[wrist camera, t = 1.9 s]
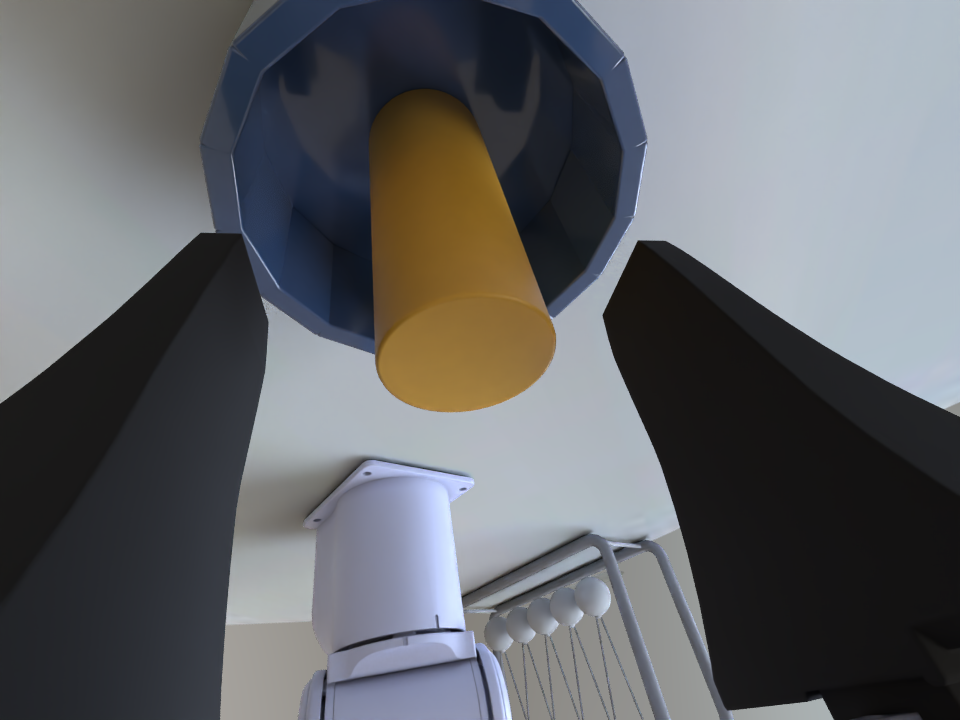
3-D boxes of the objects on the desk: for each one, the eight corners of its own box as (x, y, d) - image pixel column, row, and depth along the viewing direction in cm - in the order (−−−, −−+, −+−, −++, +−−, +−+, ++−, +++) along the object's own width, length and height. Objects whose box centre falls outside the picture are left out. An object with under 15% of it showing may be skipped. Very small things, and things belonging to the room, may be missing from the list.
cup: (573, 233, 16) (618, 321, 14) (326, 284, 16) (320, 384, 13) (603, -380, 7) (760, -498, 4) (39, -270, 7) (-168, -319, 4)
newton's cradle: (490, 610, 66) (517, 773, 55) (430, 612, 60) (446, 795, 49) (660, 533, 49) (747, 744, 38) (599, 526, 44) (682, 771, 33)
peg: (441, 217, 14) (483, 426, 9) (348, 164, 12) (342, 389, 7) (503, 133, 12) (593, 336, 8) (406, 59, 11) (445, 262, 6)
